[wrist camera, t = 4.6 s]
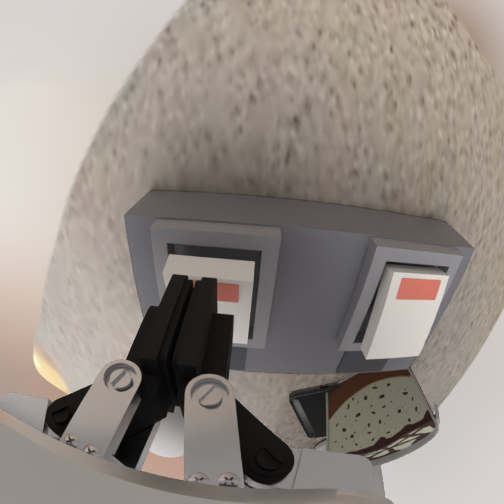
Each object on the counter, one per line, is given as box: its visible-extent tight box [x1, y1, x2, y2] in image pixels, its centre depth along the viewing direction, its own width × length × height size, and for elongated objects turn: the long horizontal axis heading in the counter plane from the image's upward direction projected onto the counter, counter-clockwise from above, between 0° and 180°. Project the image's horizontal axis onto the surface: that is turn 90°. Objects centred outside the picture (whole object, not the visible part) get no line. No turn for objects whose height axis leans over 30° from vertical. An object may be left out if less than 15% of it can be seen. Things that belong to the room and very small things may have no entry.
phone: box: [289, 382, 340, 438], centre depth 31 cm, size 8×1×15 cm
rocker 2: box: [360, 264, 449, 359], centre depth 14 cm, size 6×4×1 cm
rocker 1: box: [162, 254, 255, 344], centre depth 14 cm, size 6×4×1 cm
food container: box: [326, 367, 440, 466], centre depth 22 cm, size 12×6×10 cm, turn 137°
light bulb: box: [149, 406, 184, 457], centre depth 22 cm, size 6×6×10 cm
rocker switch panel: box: [124, 190, 474, 374], centre depth 18 cm, size 12×21×5 cm, turn 86°
